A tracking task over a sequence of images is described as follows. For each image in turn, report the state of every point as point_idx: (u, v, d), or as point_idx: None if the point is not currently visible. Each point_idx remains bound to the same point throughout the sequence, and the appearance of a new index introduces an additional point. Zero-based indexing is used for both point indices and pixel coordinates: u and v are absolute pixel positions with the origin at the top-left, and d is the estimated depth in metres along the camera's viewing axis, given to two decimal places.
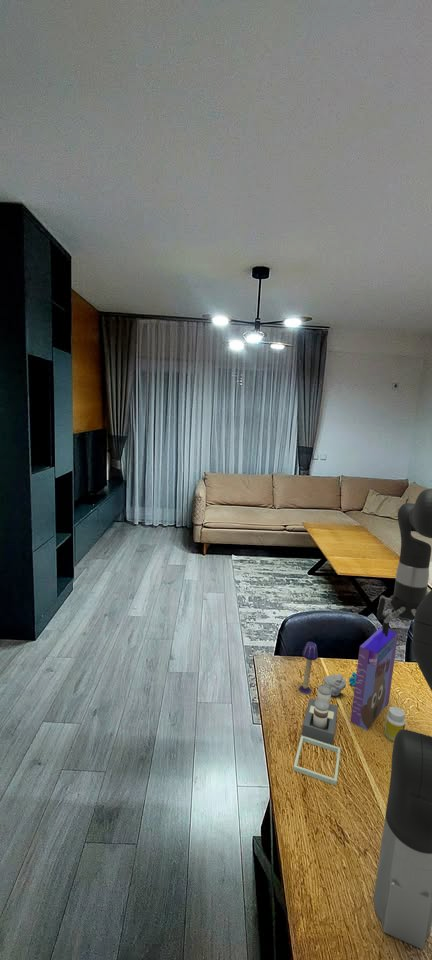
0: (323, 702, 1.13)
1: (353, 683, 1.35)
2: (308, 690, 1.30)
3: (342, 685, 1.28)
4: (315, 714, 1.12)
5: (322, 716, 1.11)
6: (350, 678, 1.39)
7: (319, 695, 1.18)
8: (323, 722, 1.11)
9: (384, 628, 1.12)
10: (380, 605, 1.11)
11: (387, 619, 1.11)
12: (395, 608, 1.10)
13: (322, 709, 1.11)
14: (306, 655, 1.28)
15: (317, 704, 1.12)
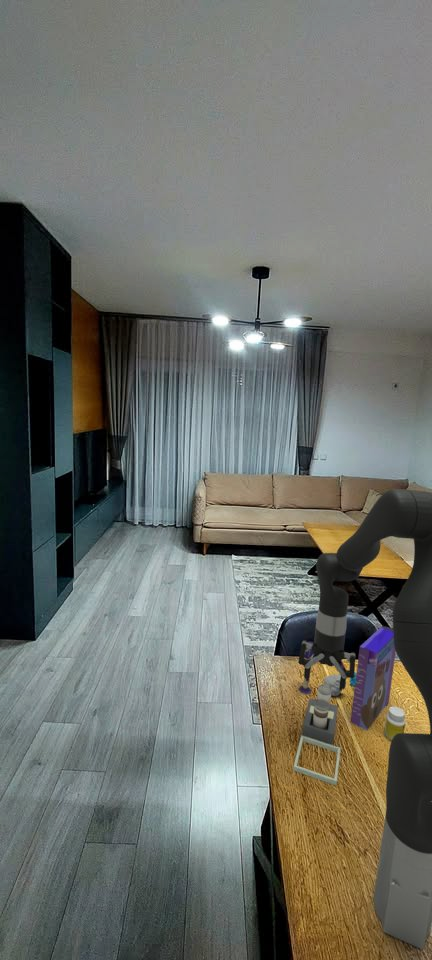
0: (323, 702, 1.13)
1: (353, 683, 1.35)
2: (308, 690, 1.30)
3: None
4: (315, 714, 1.12)
5: (322, 716, 1.11)
6: None
7: (319, 695, 1.18)
8: (323, 722, 1.11)
9: (305, 673, 1.13)
10: (301, 651, 1.12)
11: (308, 665, 1.11)
12: (315, 654, 1.11)
13: (322, 709, 1.11)
14: (306, 655, 1.28)
15: (317, 704, 1.12)
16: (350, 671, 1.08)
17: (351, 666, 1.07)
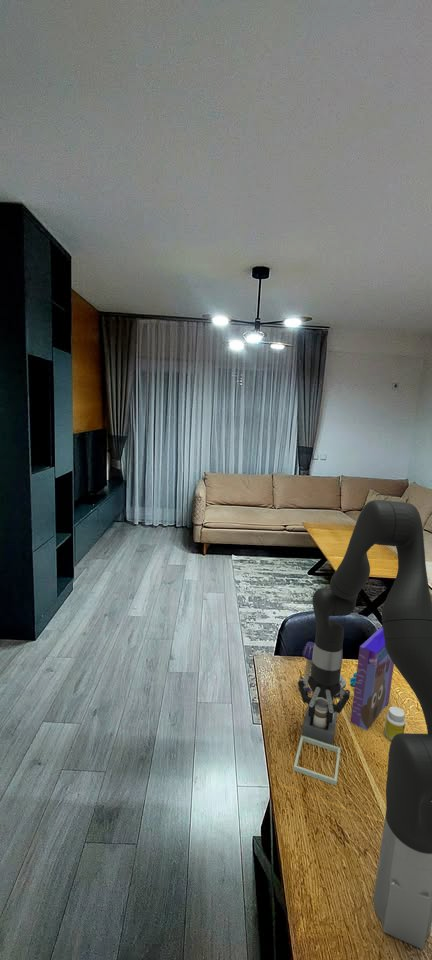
0: (323, 702, 1.13)
1: (354, 683, 1.35)
2: (308, 690, 1.30)
3: (342, 685, 1.28)
4: (315, 714, 1.12)
5: (322, 716, 1.11)
6: (351, 678, 1.39)
7: None
8: (323, 722, 1.11)
9: (310, 711, 1.13)
10: (300, 689, 1.13)
11: (311, 703, 1.12)
12: (313, 690, 1.12)
13: (322, 709, 1.11)
14: (306, 655, 1.28)
15: (317, 704, 1.12)
16: (339, 706, 1.10)
17: (342, 702, 1.09)
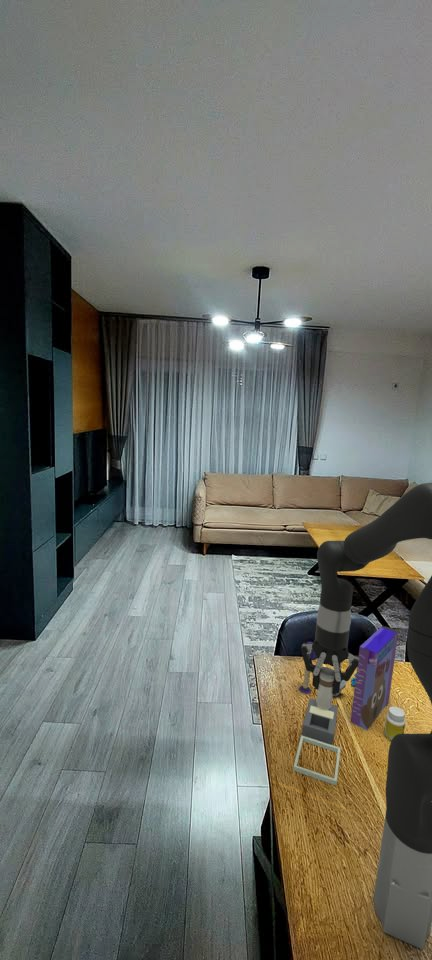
0: (329, 670, 1.01)
1: (354, 683, 1.35)
2: (308, 690, 1.30)
3: (342, 685, 1.28)
4: (320, 683, 1.00)
5: (328, 685, 0.99)
6: (352, 678, 1.39)
7: None
8: (329, 692, 1.00)
9: (314, 680, 1.01)
10: (303, 655, 1.01)
11: (315, 671, 1.00)
12: (317, 656, 1.00)
13: (328, 677, 0.99)
14: None
15: (322, 672, 1.00)
16: (347, 674, 0.98)
17: (351, 669, 0.97)
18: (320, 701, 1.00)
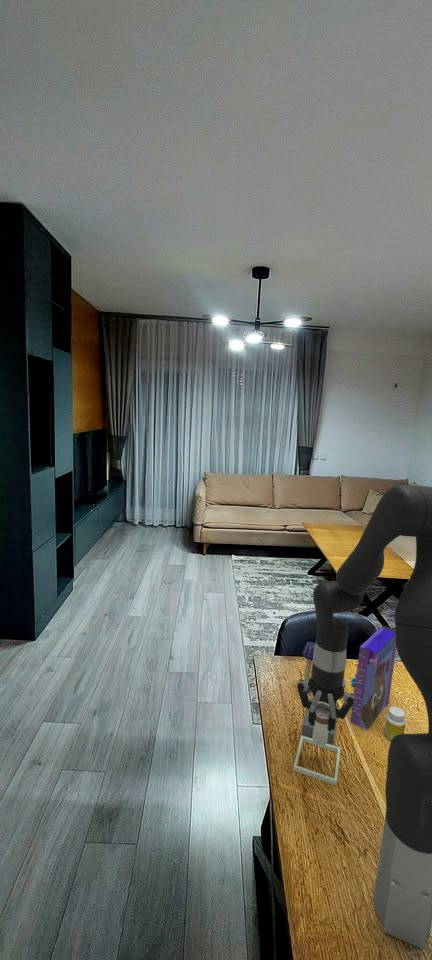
0: (325, 707, 1.03)
1: (354, 683, 1.35)
2: (308, 690, 1.30)
3: None
4: (316, 720, 1.02)
5: (323, 722, 1.01)
6: (353, 678, 1.39)
7: None
8: (325, 729, 1.01)
9: (310, 717, 1.03)
10: (299, 692, 1.03)
11: (311, 707, 1.02)
12: (313, 693, 1.01)
13: (324, 714, 1.00)
14: (306, 655, 1.28)
15: (318, 709, 1.02)
16: (342, 711, 0.99)
17: (346, 707, 0.99)
18: (316, 737, 1.02)
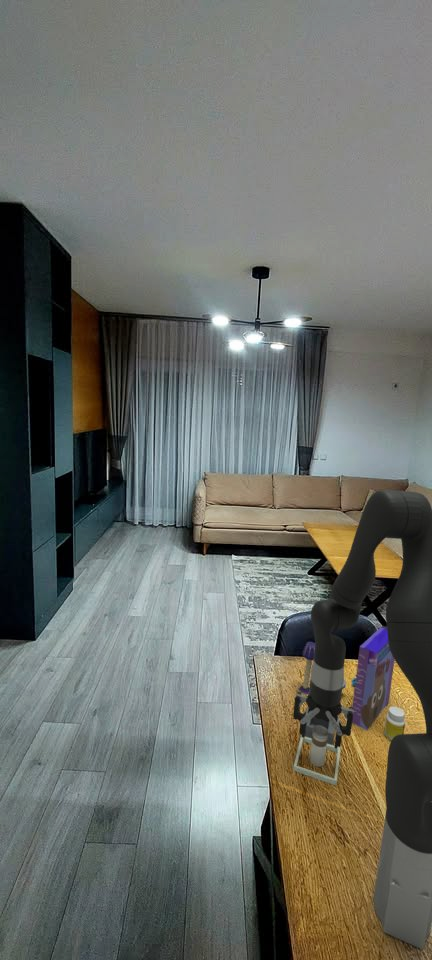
0: (322, 729, 1.04)
1: None
2: (308, 690, 1.30)
3: None
4: (313, 742, 1.03)
5: (320, 745, 1.02)
6: (353, 679, 1.39)
7: None
8: (322, 751, 1.02)
9: (301, 729, 1.04)
10: (295, 704, 1.03)
11: (303, 720, 1.03)
12: (310, 708, 1.02)
13: (320, 737, 1.01)
14: (306, 655, 1.28)
15: (315, 731, 1.03)
16: (347, 728, 0.99)
17: (348, 723, 0.99)
18: (313, 760, 1.03)
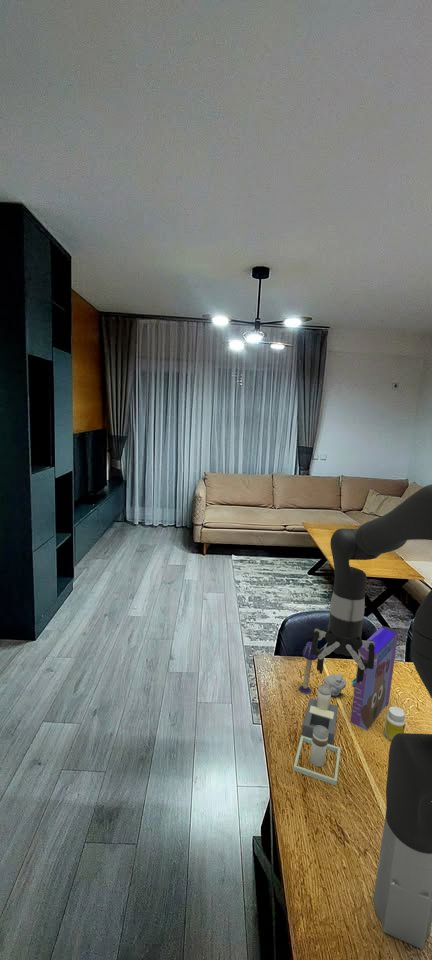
0: (323, 729, 1.04)
1: None
2: (308, 690, 1.30)
3: (342, 685, 1.28)
4: (313, 742, 1.03)
5: (321, 745, 1.02)
6: (354, 679, 1.39)
7: (319, 695, 1.18)
8: (322, 751, 1.02)
9: (318, 664, 1.01)
10: (313, 639, 1.00)
11: (321, 655, 1.00)
12: (329, 643, 0.99)
13: (321, 737, 1.01)
14: (306, 655, 1.28)
15: (316, 731, 1.03)
16: (369, 661, 0.96)
17: (370, 655, 0.96)
18: (313, 759, 1.03)
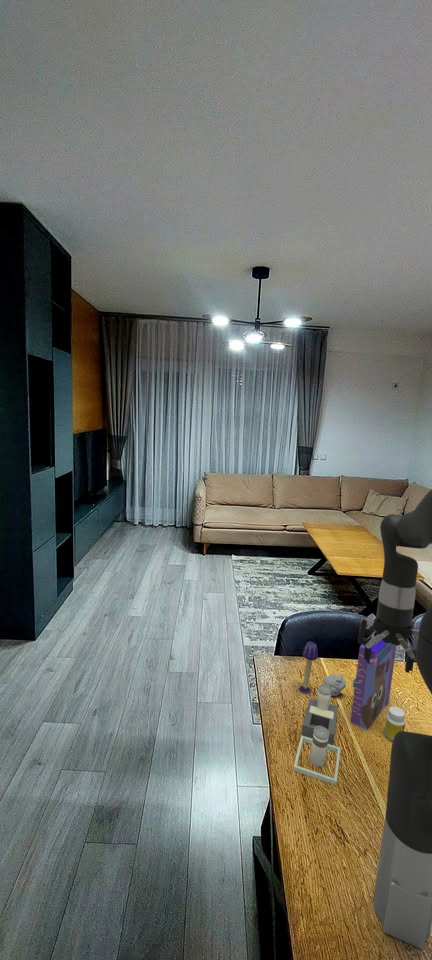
0: (323, 730, 1.03)
1: None
2: (308, 690, 1.30)
3: (342, 685, 1.28)
4: (313, 742, 1.03)
5: (321, 746, 1.01)
6: (354, 679, 1.39)
7: (319, 695, 1.18)
8: (322, 752, 1.02)
9: (366, 653, 1.00)
10: (361, 628, 0.99)
11: (369, 644, 0.99)
12: (378, 631, 0.98)
13: (321, 738, 1.01)
14: (306, 655, 1.28)
15: (316, 732, 1.02)
16: None
17: None
18: (313, 759, 1.03)
